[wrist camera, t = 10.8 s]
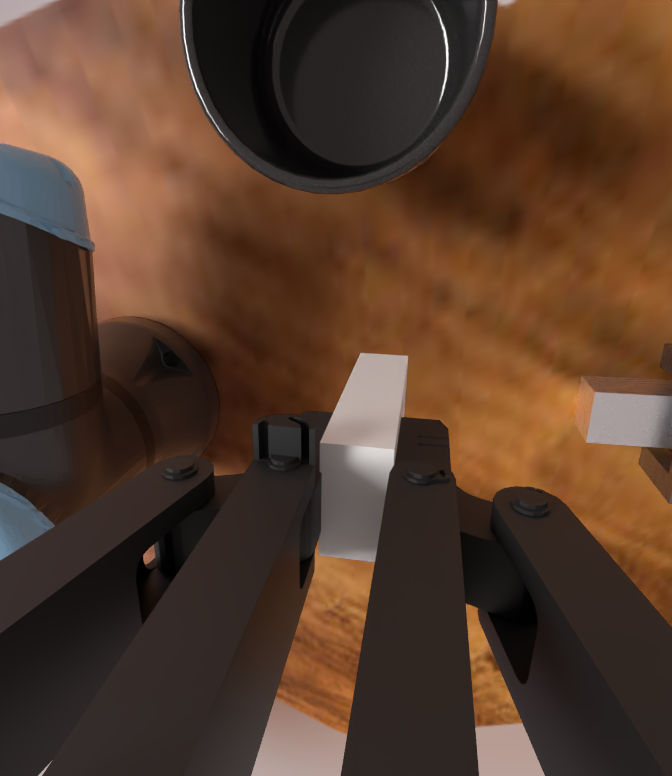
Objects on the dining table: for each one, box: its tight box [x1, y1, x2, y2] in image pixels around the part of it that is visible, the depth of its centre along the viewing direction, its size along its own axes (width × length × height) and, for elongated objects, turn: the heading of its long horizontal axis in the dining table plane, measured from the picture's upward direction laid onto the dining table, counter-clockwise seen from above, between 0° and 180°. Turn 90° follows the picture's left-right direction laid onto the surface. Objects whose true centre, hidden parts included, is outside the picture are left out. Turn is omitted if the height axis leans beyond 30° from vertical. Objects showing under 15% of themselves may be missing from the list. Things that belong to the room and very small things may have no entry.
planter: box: [179, 0, 498, 194], centre depth 29 cm, size 13×13×18 cm
